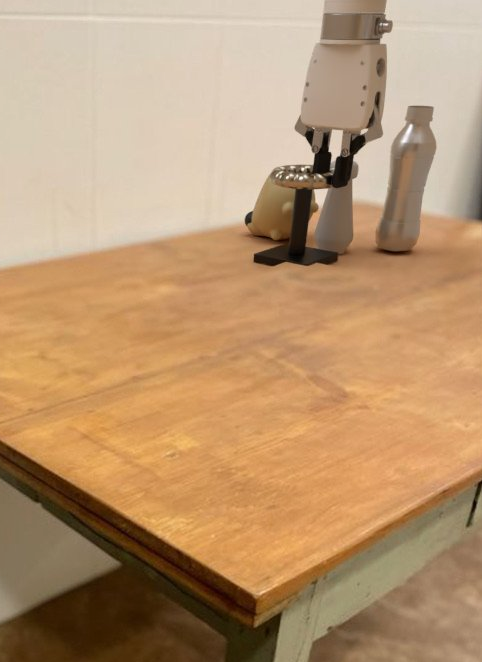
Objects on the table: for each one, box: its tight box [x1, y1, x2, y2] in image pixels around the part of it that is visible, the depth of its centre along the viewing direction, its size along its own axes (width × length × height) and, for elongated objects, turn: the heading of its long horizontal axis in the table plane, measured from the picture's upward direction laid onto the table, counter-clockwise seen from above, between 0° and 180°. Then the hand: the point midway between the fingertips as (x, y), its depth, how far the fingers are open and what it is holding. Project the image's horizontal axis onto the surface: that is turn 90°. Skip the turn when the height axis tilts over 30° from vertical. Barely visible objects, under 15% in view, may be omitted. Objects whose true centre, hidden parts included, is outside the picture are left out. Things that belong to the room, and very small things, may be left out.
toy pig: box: [244, 172, 320, 241], centre depth 131 cm, size 10×12×11 cm
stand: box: [252, 189, 340, 267], centre depth 118 cm, size 9×9×11 cm
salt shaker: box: [313, 160, 359, 255], centre depth 122 cm, size 6×6×13 cm
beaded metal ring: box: [269, 164, 335, 190], centre depth 115 cm, size 10×10×2 cm
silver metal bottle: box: [375, 105, 438, 253], centre depth 121 cm, size 6×7×20 cm
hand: (330, 184), depth 113 cm, fingers closed on beaded metal ring, 2 cm apart
